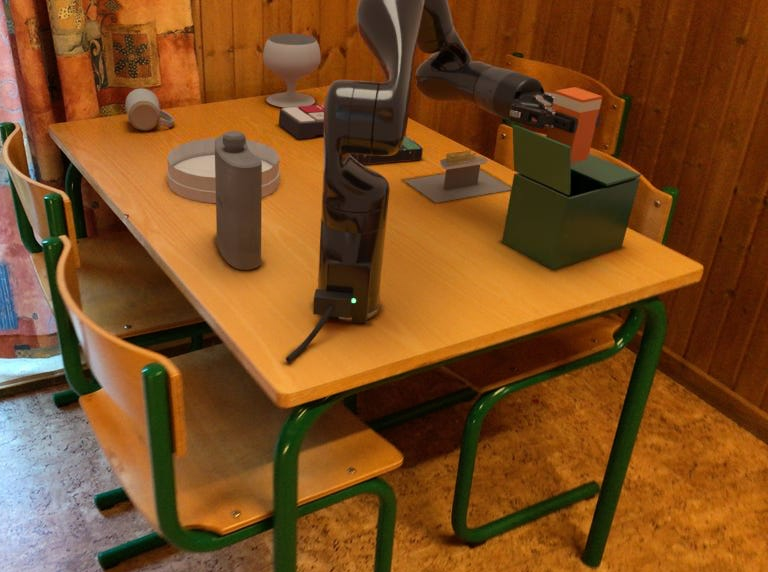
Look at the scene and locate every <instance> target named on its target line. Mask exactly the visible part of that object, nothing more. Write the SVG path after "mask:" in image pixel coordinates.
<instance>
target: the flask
mask: <svg viewBox="0 0 768 572" xmlns="http://www.w3.org/2000/svg"><path fill="white" fill-rule="evenodd" d="M215 138H216V140H215V183H216V203H215V212H216V213H215V219H216V222H215V223H216V245H217V249H218V251H219V253H220V255H221V256H222V258H223V259H224V260H225V261H226V262H227V264H229V266H232V267H233V268H234V269H237V270H240V271H251V270H255V269H257V268H259V267H260V266H261V264H262V199H263V197H262V162H261V160H260V159H259V158H258V157H256V156H255V155H254V154H252V153H251V151H250V150H249V148H248V146H247V140H248V139H247V138H246V135H245V133H243V132H242V131H238V130H230V131H229V130H228V131H226V132H225V133H224V134H222V135H221V134H220V135H219V136H218V137H215Z"/></svg>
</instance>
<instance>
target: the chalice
mask: <svg viewBox="0 0 768 572" xmlns="http://www.w3.org/2000/svg"><path fill="white" fill-rule="evenodd" d="M262 53H263V54H262V61H263V65H264V66H265V67H266V68H267V69H266V70H268V71H270V72H271V73H273V74H274V75H276V76H278V77H279V78H281V79H282V80H283V81H284V82H285V83H286V87H287V88H286V91H285V92H277V93H274V94H271V95H269V96H267V97H266V102H267V103H268V104H270V105H272V106H275V107H279V108H294V107H296V108H299V106H313V105H314V104H315V103H316V99H315V98H314V97H313V96H311V95H309V94H305V93H301V92H296V89H295V88H296V85H297V83H298V82H299V81H300V80H301V79H303V78H305V77H306V76H309V75H311V74H312V73H314V72H315V71H316V70H317V69H318V68H319V67H320V64H321V59H322V56H321V55H322V54H321V49H320V45H319V43H318V40H317V38H315V37H314V36H311V35H308V34H302V33H301V34H300V33H281V34H280V33H278V34H274V35H271V36H269V37H268V39H267V40H266V42H265V44H264V48H263V52H262Z"/></svg>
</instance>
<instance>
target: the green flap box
mask: <svg viewBox="0 0 768 572" xmlns="http://www.w3.org/2000/svg"><path fill="white" fill-rule="evenodd" d="M641 175H642V174H641V173H638V172H636V171H633V170H631V169H628V168H626V167H623V166H621V165H618V164H615V163H613V162H611V161H608V160H606V159H603V158H601V157H598V156H595V155H593V154H591V153H589V156H588V159H586V160H582V161H578V162H574V163H571V181H570V195H567V194H565V193H562V192H560V191H558V190H556V189H554V188H551V187H549V186H547V185H545V184H543V183H540V182H538V181H536V180H534V179H532V178H529V177H527V176H525V175H523V174H520V173H518V172H516V173H514V174H513V177H512V183H511V188H512V189H511V190H510V195H509V200H508V206H507V211H506V216H505V223H504V227H503V233H502V238H501V243H502V244H504V245H506V246H507V247H510V248H511V249H514V251H517V252H519V253H521V254H523V255H525V256H526V257H528V258H530V259H532V260H533V261H535V262H537V263H539V264H541V265H543V266H544V267H546V268H548V269H551V270H552V271H554V270H558V269H560V268H564V267H567V266H570V265H573V264H576V263H579V262H582V261H585V260H588V259H592V258H594V257H597V256H601V255H603V254H607V253H610V252H612V251H615V250H619V249H623V244H624V241H625V237H626V233H627V230H628V226H629V222H630V218H631V216H632V215H631V214H632V211H633V207H634V203H635V200H636V197H637V193H638V190H639V185H640V182H641V179H640V177H641Z"/></svg>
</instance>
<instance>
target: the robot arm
mask: <svg viewBox="0 0 768 572" xmlns="http://www.w3.org/2000/svg"><path fill="white" fill-rule="evenodd" d="M355 21H356V27H357V30H358V32H359V36H360V37H361V39H362V41H363V42H364V45H365V46H366V48H367V49H368V51H369V53H370V54H371V55H372V57H373V58H374V59H375V61H376V63H377V64H378V66H379V68H380V70H381V73H382V74H383V77H384V81H385V82H378V81H365V80H354V79H353V80H352V79H337V80H334V81H333V82H331V84H330V85H329V87H328V89H327V92H326V94H325V99H324V105H325V106H324V135H323V171H322V193H321V217H320V235H319V250H318V251H319V253H318V254H319V255H318V269H317V271H318V272H317V273H318V274H317V288H315V290H314V295H313V309H312V314H313V315H316V316H322V317H321V318H320V320H319V321H318V322H317V324H316V325H315V327H314V328H313V329H312V331H311V332H310V333H309V335H307V337H306V338H305V339H304V340H303V341H302V343H300V345H299V346H298V347H296V348H295V349H294V350H293V351H292V352H291V353H290V354H288V355H287V357H286V358H285V360H286V362H287V363H292V361H294V360H295V359H296V358H297V357H298V356H299V355H300V354H301V353H302V352H304V350H306V348H307V347H308V346H309V345H310V344H311V342H312V341H313V340H314V339H315V338H316V337H317V335H318V334H319V333H320V331H321V330H322V328H323V327H324V326H325V324H326V323H327V322H328V321H332V322H341V323H343V322H344V323H352V324H353V323H354V324H363V325H364V324H365V325H366V324H367V322H368V320H370V319H372V318H373V317H375V316H376V315H377V314H378V312H379V310H380V295H381V286H382V285H381V283H382V273H383V264H384V263H383V262H384V253H385V252H384V251H385V242H386V231H387V222H388V212H389V201H390V193H391V192H390V189H391V187H390V183H389V181H388V179H387V178H386V177H385V176H384V175H383V174H381V173H379V172H377V171H375V170H373V169H371V168H369V167H367V166H366V165H365V164H360V163H359V162H358V161H357V160H355V159H354V158H353V157H352V155H351V154H362V155H374V156H391V155H394V154H396V153H397V152H398V151H399V150H400V148H401V146H402V144H403V141H404V138H405V134H407V129H408V122H409V114H410V112H409V111H410V102H411V92H412V91H411V90H412V81H413V80H412V78H413V69H414V60H415V55H416V48H417V49H418V50H419V51H420V52H421V53H423V54H429V55H430V56H429V57H428V58H427V59H425V60H424V61H423V62H421V64H420V65H419V66H418V67H417V69H416V70H415V73H414V82H415V86H416V88H417V89H418V90H419V92H420V93H421V94H422V95H423V96H424V97H426V98H429V99H431V100H434V101H436V102H445V103H447V102H448V103H449V102H451V103H468V104H470V105H471V106H475V107H477V108H480V109H482V110H483V111H485V112H487V113H489V114H491V115H493V116H496V117H499V118H501V119H503V120H506V121H508V122H511V123H514V124H515V125H526V126H529V127H533V128H537V129H544V128H545V127H547V128H548V127H549V128H554V127H556V128H559V129H561V130H564V131H567V132H569V133H574V132H576V131H577V127H578V122H579V121H578V119H577V118H574V117H572V116H569V115H566V114H564V113H561V112H560V113H558V111H557V110H555V109H552V106H553V100H554V95H555V93H553V92H549V91H548V92H547V91H546V92H545V89H544V87H543V84H542V83H541V81H540V80H538V79H537V78H535V77H532V76H529V75H526V74H523V73H521V72H517V71H514V70H512V69H509V68H503V67H497V66H494V65H491V64H489V63H486V62H483V61H478V60H473V59H472V55H471V54H470V52H469V50H468V49H467V47H466V46H465V44H464V42H463V41H462V39H461V38H460V36H459V34H458V32H457V31H456V29H455V27H454V22H453V18H452V13H451V9H450V6H449V2H448V0H358V3H357V7H356V13H355ZM600 122H601V113H598V117H597V121H596V126H595V129H597V128H599V125H600ZM350 153H351V154H350Z"/></svg>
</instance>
